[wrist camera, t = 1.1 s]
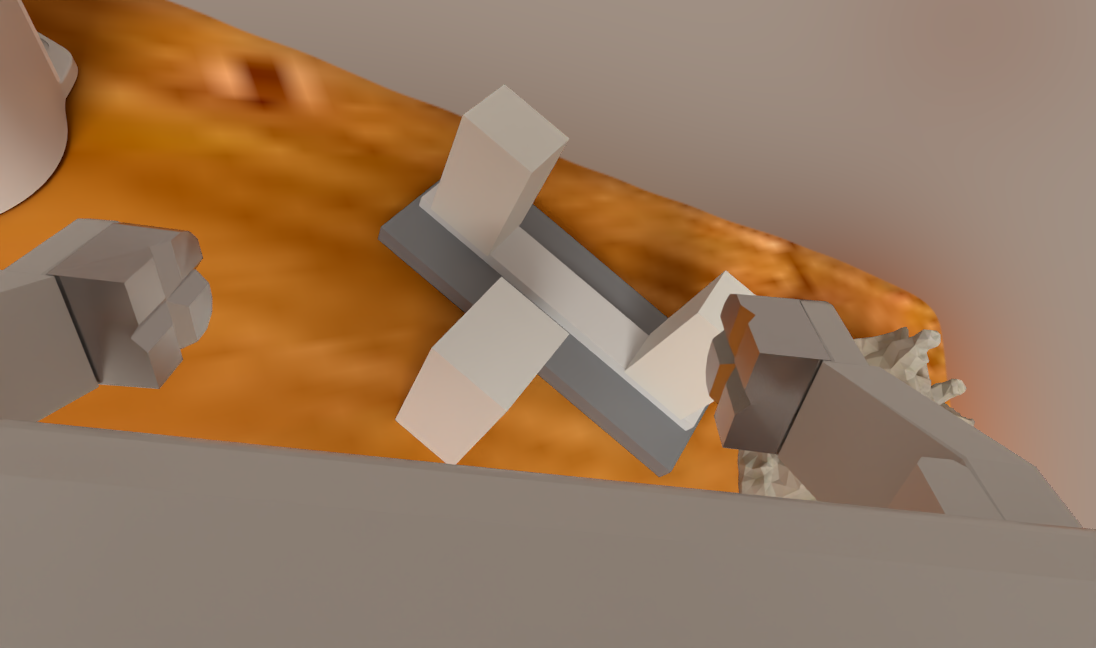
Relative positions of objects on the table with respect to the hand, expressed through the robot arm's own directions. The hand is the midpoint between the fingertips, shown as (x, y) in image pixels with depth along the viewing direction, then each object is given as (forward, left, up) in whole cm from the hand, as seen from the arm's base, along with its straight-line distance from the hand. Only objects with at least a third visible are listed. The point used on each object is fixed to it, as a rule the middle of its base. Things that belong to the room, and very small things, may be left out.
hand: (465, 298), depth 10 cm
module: (0, +10, -29) cm, 31 cm away
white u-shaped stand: (+1, +21, -29) cm, 36 cm away
